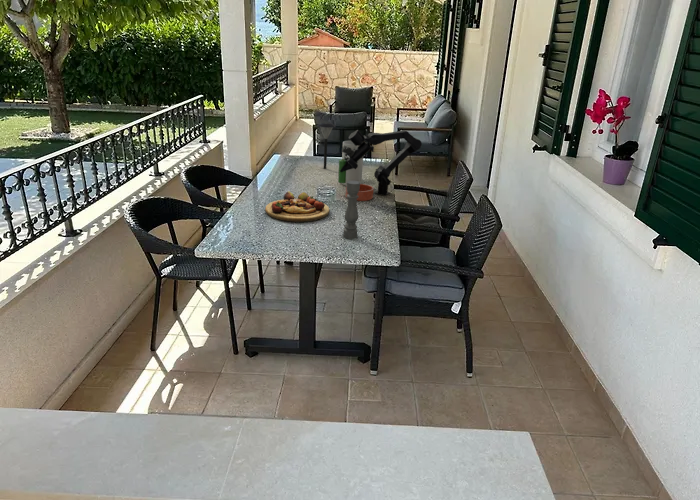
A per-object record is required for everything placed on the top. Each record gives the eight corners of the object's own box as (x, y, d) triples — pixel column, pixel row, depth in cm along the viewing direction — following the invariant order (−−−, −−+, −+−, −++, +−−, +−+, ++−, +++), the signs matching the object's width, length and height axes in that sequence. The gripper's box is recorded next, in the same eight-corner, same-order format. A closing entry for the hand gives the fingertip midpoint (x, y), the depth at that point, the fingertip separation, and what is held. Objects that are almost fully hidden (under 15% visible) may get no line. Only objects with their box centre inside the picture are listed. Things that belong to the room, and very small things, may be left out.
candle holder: (342, 233, 229) (345, 180, 219) (356, 234, 230) (359, 180, 220) (343, 238, 223) (346, 184, 213) (357, 239, 224) (361, 184, 214)
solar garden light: (317, 165, 345) (319, 120, 333) (335, 167, 343) (337, 122, 332) (314, 169, 333) (315, 123, 322) (332, 171, 332) (334, 125, 320)
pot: (354, 191, 293) (354, 182, 290) (377, 196, 285) (378, 187, 283) (339, 197, 280) (340, 187, 278) (364, 203, 273) (365, 193, 271)
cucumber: (340, 180, 287) (341, 157, 281) (347, 182, 285) (348, 158, 280) (336, 182, 283) (337, 159, 278) (343, 183, 281) (344, 160, 276)
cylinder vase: (350, 188, 298) (352, 145, 289) (336, 183, 307) (338, 141, 297) (365, 185, 306) (368, 143, 296) (352, 180, 315) (354, 140, 305)
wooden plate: (278, 226, 233) (278, 209, 230) (256, 205, 259) (256, 190, 256) (340, 218, 247) (340, 202, 244) (314, 199, 273) (314, 185, 270)
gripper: (348, 137, 284) (328, 156, 287) (352, 144, 267) (331, 164, 270) (362, 151, 288) (342, 170, 291) (366, 159, 271) (345, 179, 274)
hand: (339, 170), depth 281 cm, fingers closed on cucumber, 4 cm apart
